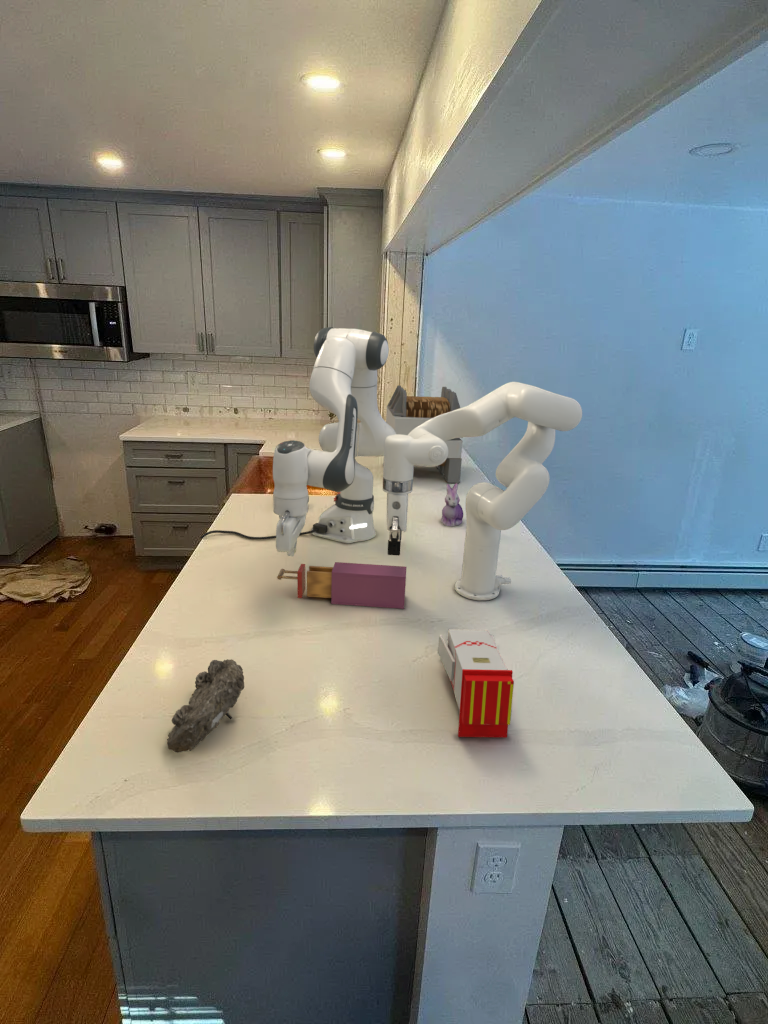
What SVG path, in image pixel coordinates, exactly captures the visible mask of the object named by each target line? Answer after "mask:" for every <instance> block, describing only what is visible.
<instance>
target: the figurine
mask: <svg viewBox="0 0 768 1024" xmlns="http://www.w3.org/2000/svg"><path fill="white" fill-rule="evenodd" d="M445 487H446V495H445V497H444V502H445V505H444V506H443V507H442V510H441V519H440V522H441V523H442V524H443V525H444V526H447V527H454V526H459V525H461V524H462V523H463V519H464V511H463V508H462V505H461V504H460V501H461V499H460V496H459V494H458V489H459V483H454V485H453V487H451V485H450V483H447V484H446V486H445Z"/></svg>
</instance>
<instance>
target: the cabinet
mask: <svg viewBox="0 0 768 1024" xmlns="http://www.w3.org/2000/svg"><path fill="white" fill-rule="evenodd" d="M332 567H333V570H332V590H331V598H330V599H331V601H330V604H331V605H340V606H356V607H357V606H358V607H371V608H372V607H373V608H385V609H398V610H399V609H401V610H404V609H405V602H406V601H405V600H406V585H407V583H406V582H407V566H406V565H405V566H403V565H402V566H401V565H388V564H371V563H356V562H340V561H334V565H333V566H332Z"/></svg>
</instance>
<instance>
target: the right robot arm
mask: <svg viewBox="0 0 768 1024" xmlns="http://www.w3.org/2000/svg"><path fill="white" fill-rule="evenodd" d="M514 418H516V419H520V420H523V421H526V422H527V426H526V430H525V432H524V434H523V437H522V438H520V440H519V442H518V443H517V444H516V445H515V446H514V447H513V448H512V449H511V450H510V451H509V452H508V454H507V455H506V456H505V457H504V458H503V459H502V460H501V461H500V462H499V463H498V465H497V467H496V469H495V477H496V480H497V481H498V482H499V483H500V484H501V485H502V486H503V487H505V490H504V489H502V488H500V487H499V486H497V485H495V484H493V483H490V482H486V481H485V482H483V481H481V482H478V483H475V484H474V485H472V486H471V487H470V488H469V490H468V491H467V493H466V497H465V517H466V518H465V519H466V520H465V521H466V524H465V537H464V547H463V548H464V549H463V557H462V565H461V577H460V579H458V580H457V581H456V582H455V584H454V590H455V591H456V593H457V594H458V595H460V596H461V597H464V598H466V599H469V600H473V601H489V600H494V599H496V598H497V597H498V596H499V595H500V586H502V585H511V583H512V579H511V577H510V576H507V577H504V576H503V574H497V570H498V569H497V568H498V560H499V553H500V545H501V544H500V543H501V535H502V531H507V530H510V529H511V528H512V529H513V528H514V527H515V526H516V525H517V524H518V523H519V522H520V521H522V520H523V518H524V517H525V516H526V515H527V514H528V513H529V512H530V511H531V510H532V509H533V508H534V506H535V505H536V504H537V503H538V502H539V501H540V500H541V499H542V497H543V496H544V495H545V493H546V492H547V490H548V488H549V485H550V480H551V479H550V473H549V471H548V469H547V467H545V466H544V465H543V464H544V462H545V461H546V460H547V459H548V458H549V456H550V455H551V453H552V451H553V450H554V447H555V443H556V431H559V432H570V431H572V430H573V429H575V428H576V427H577V426H578V425H579V424H580V423H581V420H582V419H583V408H582V406H581V404H580V403H579V402H578V401H577V400H576V399H574V398H573V397H570V396H566V395H562V394H559V393H557V392H556V393H555V392H552V391H549V390H546V389H544V388H540V387H538V386H535V385H531V384H527V383H524V382H519V381H509V382H506V383H505V384H502V385H500V386H499V387H497V388H495V389H494V390H492V391H490V392H489V393H487V394H485V395H483V396H482V397H480V398H479V399H476V400H475V401H473V402H472V403H470V404H468V405H466V406H463V407H460V409H456V410H453V411H451V412H447V413H444V414H441V415H439V416H436V417H434V418H432V419H430V420H428V421H426V422H424V423H423V424H421V425H419V426H418V427H416V428H415V429H413V430H412V431H411V432H410V433H409V434H408V435H401V434H395V435H390V436H388V437H387V438H386V439H385V443H384V456H383V463H384V464H383V466H382V469H383V470H382V473H383V474H382V491H383V492H384V493H386V530H387V531H388V533H389V535H388V539H387V555H388V556H396V557H397V556H399V557H400V556H401V550H402V549H401V547H402V545H401V544H402V534H403V533H405V532H406V531H407V527H408V525H407V524H408V513H409V511H408V508H409V494H411V493H412V492H413V485H414V471H415V470H414V469H415V466H414V465H418V467H427V468H429V467H430V468H432V467H437V466H438V465H440V464H442V463H443V462H444V461H445V460H446V459H447V457H448V447H447V445H446V443H445V441H448V440H451V439H454V438H460V439H462V438H461V437H463V438H477V437H483V436H485V435H486V434H488V433H490V432H492V431H494V430H495V429H497V428H499V427H500V426H501V425H503V424H504V423H506V422H509V421H510V420H512V419H514ZM402 532H403V533H402Z"/></svg>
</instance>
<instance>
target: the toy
mask: <svg viewBox="0 0 768 1024" xmlns="http://www.w3.org/2000/svg"><path fill="white" fill-rule="evenodd" d="M446 640H447V643H446V641H445V639H444V636H443V635H442V634H439V637H438V646H437V656H438V657H439V659H440V661H441V663H442V666H443V668H444V670H445V672H446V674H447V677H448V679H449V681H450V684H451V687H452V690H453V693H454V697H455V701H456V705H457V708H458V711H459V714H458V715H459V716H458V730H457V731H458V732H457V737H458V738H508V731H509V726H510V725H511V717H512V707H513V697H514V696H513V695H514V684H515V680H514V679H513V673H514V671H513V670H512V669H508V667H507V665H506V662H505V661H504V659H503V658H502V655H501V653H500V651H499V649H498V647H497V643H496V639H495V637H494V635H493V634H491V632H490V631H489V629H467V628H466V629H465V628H463V629H461V628H460V629H459V628H448V630H447V639H446Z"/></svg>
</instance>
